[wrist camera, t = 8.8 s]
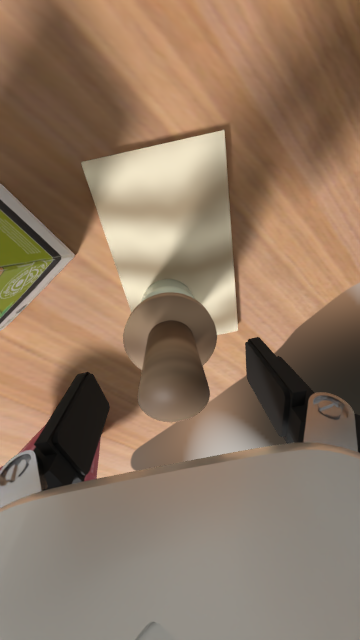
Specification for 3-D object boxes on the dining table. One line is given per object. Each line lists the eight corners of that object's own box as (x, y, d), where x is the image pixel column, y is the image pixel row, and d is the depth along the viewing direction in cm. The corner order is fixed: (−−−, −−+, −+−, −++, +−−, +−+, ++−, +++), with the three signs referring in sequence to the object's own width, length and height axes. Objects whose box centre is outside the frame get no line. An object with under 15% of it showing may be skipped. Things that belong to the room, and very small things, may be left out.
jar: (133, 284, 22) (118, 307, 15) (190, 272, 22) (203, 289, 15) (149, 334, 25) (142, 372, 18) (199, 323, 25) (213, 358, 18)
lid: (113, 303, 15) (72, 354, 8) (207, 283, 15) (241, 318, 8) (140, 376, 18) (126, 453, 12) (217, 360, 18) (247, 428, 12)
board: (85, 166, 18) (80, 162, 17) (220, 136, 18) (224, 129, 17) (145, 345, 27) (144, 350, 26) (235, 326, 27) (238, 330, 26)
